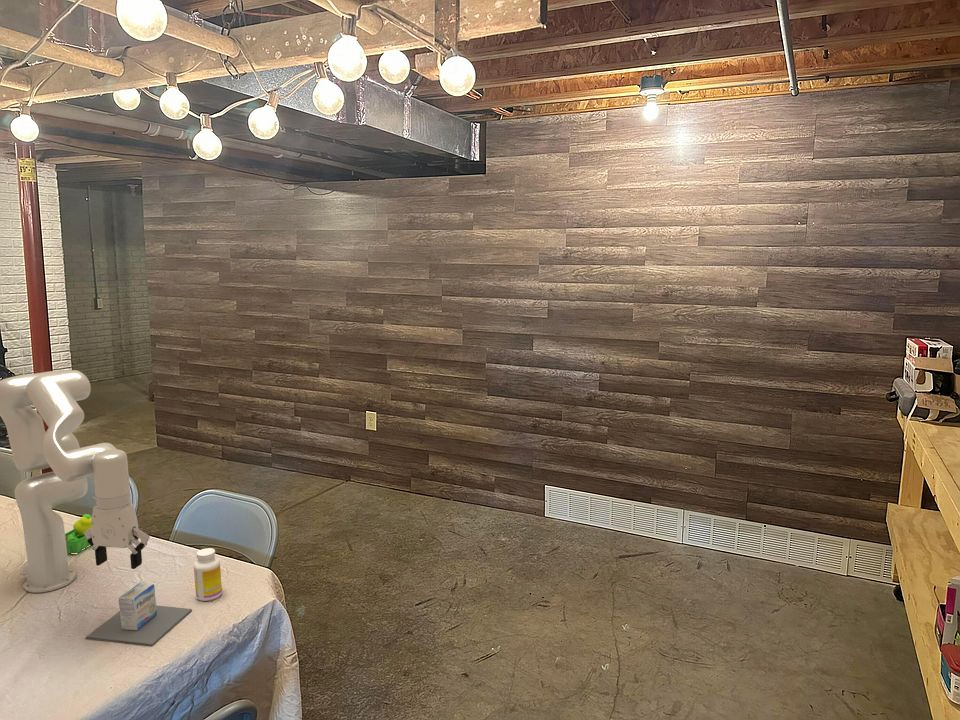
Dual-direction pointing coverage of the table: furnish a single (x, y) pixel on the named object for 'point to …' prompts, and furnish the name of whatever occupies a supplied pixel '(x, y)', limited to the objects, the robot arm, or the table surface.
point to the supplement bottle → (207, 575)
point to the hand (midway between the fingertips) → (119, 564)
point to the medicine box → (137, 606)
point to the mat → (146, 633)
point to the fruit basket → (78, 535)
